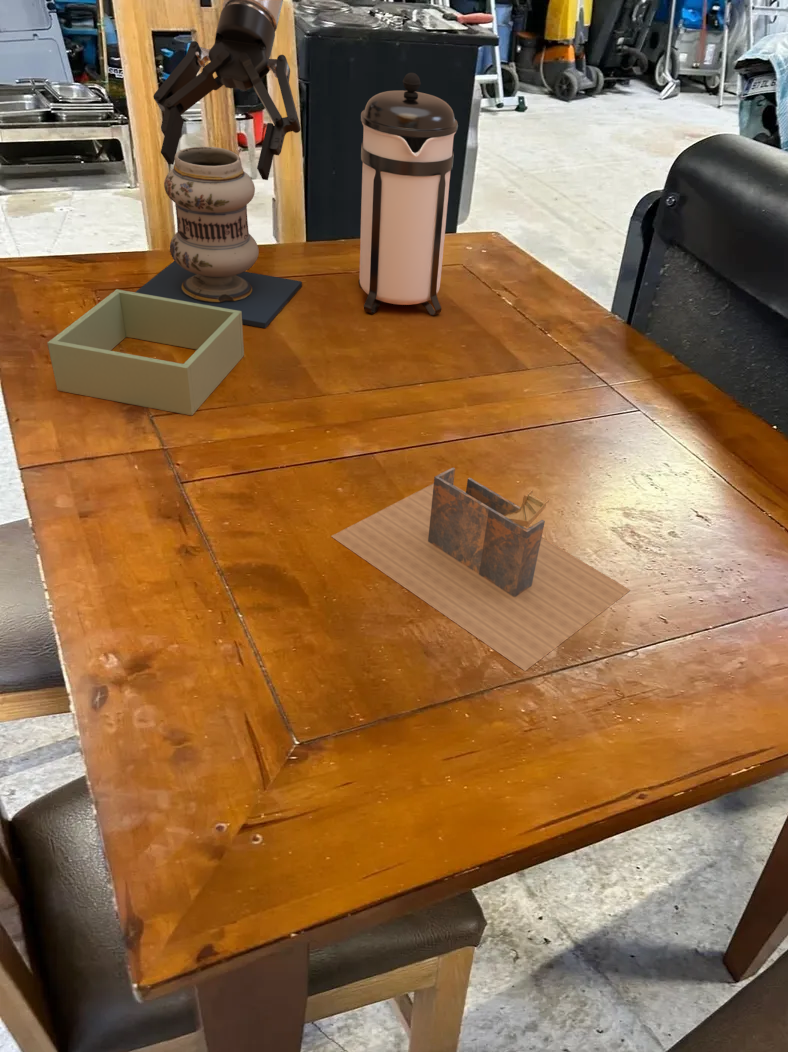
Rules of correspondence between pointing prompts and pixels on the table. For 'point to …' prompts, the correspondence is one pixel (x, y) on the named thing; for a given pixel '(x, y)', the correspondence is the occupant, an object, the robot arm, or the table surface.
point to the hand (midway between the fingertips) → (214, 166)
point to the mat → (255, 308)
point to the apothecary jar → (212, 223)
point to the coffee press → (404, 196)
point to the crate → (145, 380)
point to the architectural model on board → (484, 566)
